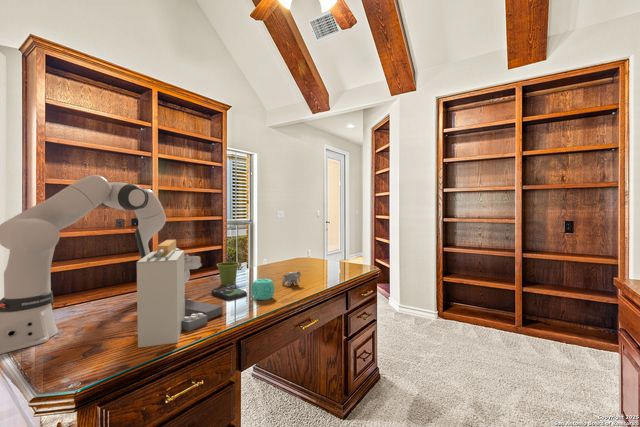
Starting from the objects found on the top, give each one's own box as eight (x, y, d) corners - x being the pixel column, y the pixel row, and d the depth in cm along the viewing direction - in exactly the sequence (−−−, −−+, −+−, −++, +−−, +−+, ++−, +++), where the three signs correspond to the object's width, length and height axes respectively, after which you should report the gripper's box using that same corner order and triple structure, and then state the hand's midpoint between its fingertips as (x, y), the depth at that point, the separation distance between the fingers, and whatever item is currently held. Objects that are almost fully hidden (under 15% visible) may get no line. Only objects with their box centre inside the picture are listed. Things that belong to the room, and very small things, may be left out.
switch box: (189, 331, 106) (189, 320, 106) (179, 328, 108) (179, 317, 108) (207, 323, 113) (207, 313, 113) (197, 321, 116) (197, 310, 116)
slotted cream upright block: (177, 342, 97) (176, 256, 97) (137, 347, 94) (136, 258, 93) (184, 318, 118) (184, 247, 118) (152, 321, 115) (151, 249, 114)
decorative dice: (267, 294, 151) (267, 278, 151) (274, 298, 144) (274, 281, 144) (251, 297, 146) (251, 280, 146) (258, 301, 140) (258, 283, 140)
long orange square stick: (163, 260, 96) (163, 249, 96) (151, 260, 95) (151, 249, 95) (176, 248, 125) (175, 239, 124) (166, 248, 123) (166, 239, 123)
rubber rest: (206, 320, 116) (206, 312, 116) (170, 312, 125) (170, 304, 125) (222, 313, 123) (222, 306, 123) (187, 306, 132) (187, 299, 132)
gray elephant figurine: (289, 283, 174) (288, 269, 174) (307, 284, 168) (306, 270, 168) (279, 287, 166) (278, 272, 166) (298, 288, 160) (297, 273, 160)
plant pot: (232, 280, 179) (232, 260, 179) (243, 284, 171) (242, 263, 170) (213, 283, 171) (212, 263, 171) (222, 288, 163) (222, 266, 162)
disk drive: (211, 296, 150) (228, 301, 141) (210, 290, 150) (228, 295, 141) (229, 291, 158) (247, 296, 149) (229, 286, 158) (247, 290, 149)
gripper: (201, 273, 144) (200, 262, 133) (152, 276, 138) (146, 265, 126) (202, 260, 147) (200, 248, 136) (153, 262, 141) (148, 250, 129)
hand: (174, 256), depth 131 cm, fingers open, 8 cm apart
